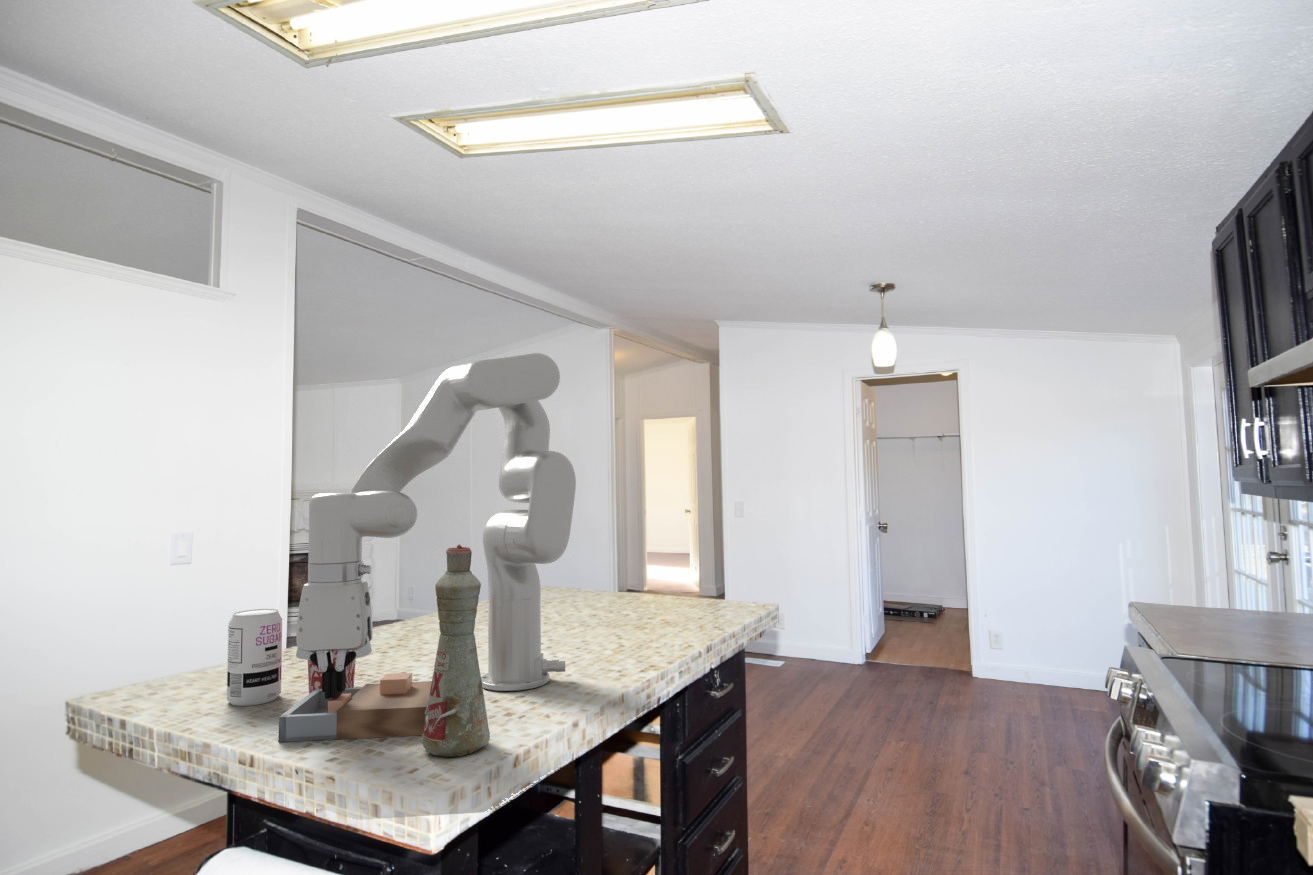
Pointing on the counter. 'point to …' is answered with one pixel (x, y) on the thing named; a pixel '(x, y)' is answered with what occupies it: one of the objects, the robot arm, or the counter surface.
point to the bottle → (456, 666)
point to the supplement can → (254, 657)
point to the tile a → (337, 702)
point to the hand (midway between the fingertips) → (333, 696)
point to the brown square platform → (383, 713)
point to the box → (310, 719)
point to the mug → (316, 674)
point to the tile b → (396, 683)
